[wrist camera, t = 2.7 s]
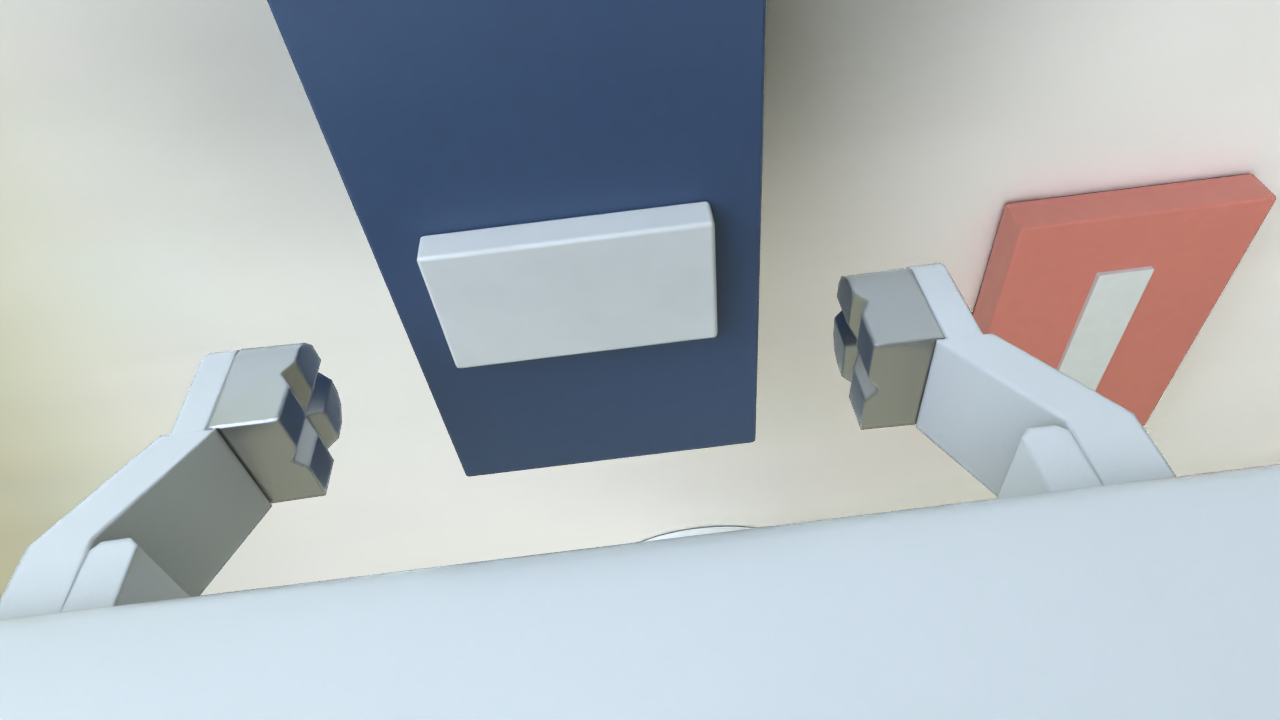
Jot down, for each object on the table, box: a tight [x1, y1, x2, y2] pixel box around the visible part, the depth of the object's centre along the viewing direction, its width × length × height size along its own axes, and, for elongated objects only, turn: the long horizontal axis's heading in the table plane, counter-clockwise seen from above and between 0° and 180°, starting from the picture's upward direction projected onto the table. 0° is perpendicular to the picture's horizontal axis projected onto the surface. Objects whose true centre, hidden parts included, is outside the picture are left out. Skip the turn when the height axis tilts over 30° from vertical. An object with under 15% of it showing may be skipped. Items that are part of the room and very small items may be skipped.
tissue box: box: [267, 0, 766, 476], centre depth 16 cm, size 10×6×9 cm, turn 5°
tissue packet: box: [973, 174, 1276, 426], centre depth 26 cm, size 10×7×1 cm
